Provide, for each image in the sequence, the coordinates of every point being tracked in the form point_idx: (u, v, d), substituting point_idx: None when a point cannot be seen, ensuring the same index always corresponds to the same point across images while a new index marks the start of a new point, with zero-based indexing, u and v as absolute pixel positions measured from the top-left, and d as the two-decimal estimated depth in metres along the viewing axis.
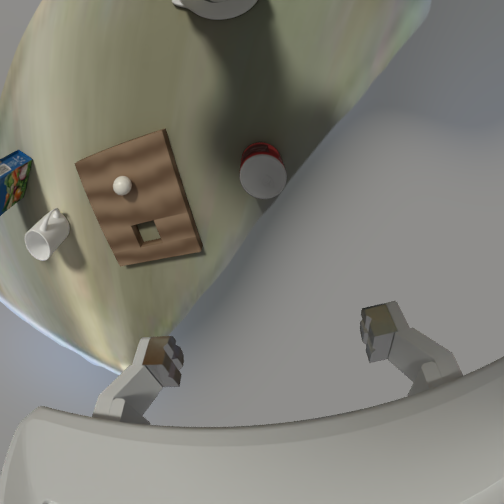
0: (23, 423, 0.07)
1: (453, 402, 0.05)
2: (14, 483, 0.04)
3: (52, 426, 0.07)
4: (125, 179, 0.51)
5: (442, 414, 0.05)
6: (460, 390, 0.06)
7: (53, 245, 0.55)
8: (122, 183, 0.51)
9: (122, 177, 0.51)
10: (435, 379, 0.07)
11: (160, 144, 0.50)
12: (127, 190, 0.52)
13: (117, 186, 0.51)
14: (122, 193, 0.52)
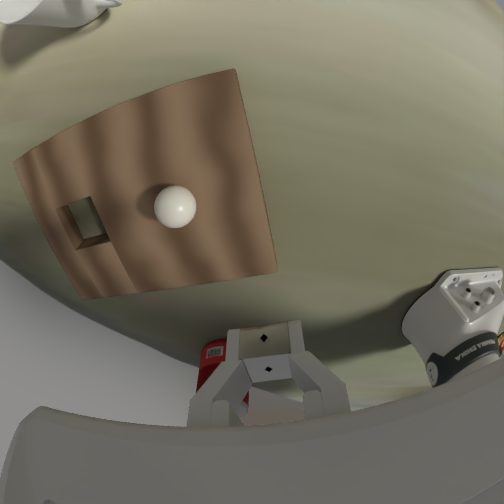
0: (23, 423, 0.07)
1: (453, 402, 0.05)
2: (14, 483, 0.04)
3: (52, 426, 0.07)
4: (190, 220, 0.26)
5: (442, 414, 0.05)
6: (460, 390, 0.06)
7: (25, 23, 0.11)
8: (182, 222, 0.25)
9: (194, 213, 0.26)
10: (314, 410, 0.07)
11: (253, 268, 0.32)
12: None
13: (175, 213, 0.24)
14: (159, 219, 0.25)
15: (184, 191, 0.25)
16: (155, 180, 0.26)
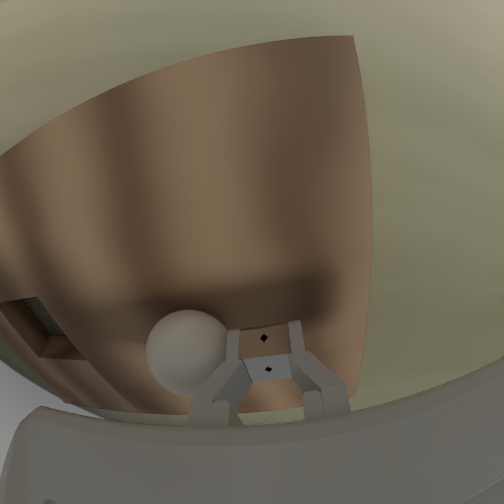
0: (23, 423, 0.07)
1: (453, 402, 0.05)
2: (14, 483, 0.04)
3: (52, 426, 0.07)
4: None
5: (442, 414, 0.05)
6: (460, 390, 0.06)
7: None
8: None
9: None
10: (314, 410, 0.07)
11: None
12: None
13: (187, 388, 0.10)
14: None
15: (208, 341, 0.11)
16: (150, 287, 0.12)
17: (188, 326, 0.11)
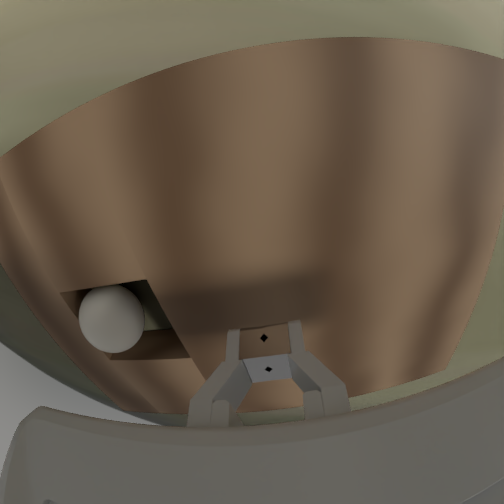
0: (23, 423, 0.07)
1: (453, 402, 0.05)
2: (14, 483, 0.04)
3: (52, 426, 0.07)
4: (116, 352, 0.14)
5: (442, 414, 0.05)
6: (460, 390, 0.06)
7: None
8: None
9: (115, 350, 0.14)
10: (315, 410, 0.07)
11: (422, 371, 0.18)
12: None
13: (84, 335, 0.14)
14: None
15: (96, 318, 0.13)
16: (331, 258, 0.12)
17: (95, 300, 0.13)
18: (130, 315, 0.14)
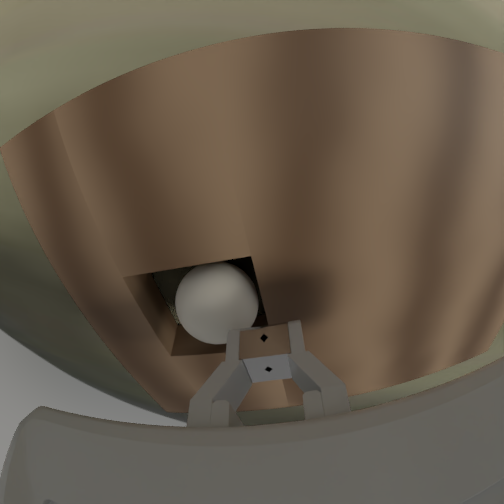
0: (23, 423, 0.07)
1: (453, 402, 0.05)
2: (14, 483, 0.04)
3: (52, 426, 0.07)
4: None
5: (442, 414, 0.05)
6: (460, 390, 0.06)
7: None
8: (226, 342, 0.13)
9: (252, 323, 0.13)
10: (314, 410, 0.07)
11: (470, 352, 0.17)
12: None
13: (213, 332, 0.12)
14: (184, 326, 0.13)
15: (235, 286, 0.12)
16: (433, 234, 0.11)
17: (218, 272, 0.12)
18: None
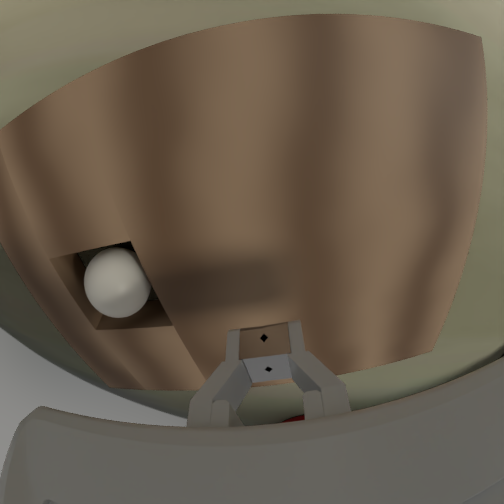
0: (23, 423, 0.07)
1: (453, 402, 0.05)
2: (14, 483, 0.04)
3: (52, 426, 0.07)
4: (136, 311, 0.15)
5: (442, 414, 0.05)
6: (460, 390, 0.06)
7: None
8: (117, 316, 0.14)
9: (140, 302, 0.14)
10: (314, 410, 0.07)
11: (407, 351, 0.18)
12: None
13: (102, 305, 0.13)
14: None
15: (120, 268, 0.13)
16: (306, 219, 0.12)
17: (110, 256, 0.14)
18: None
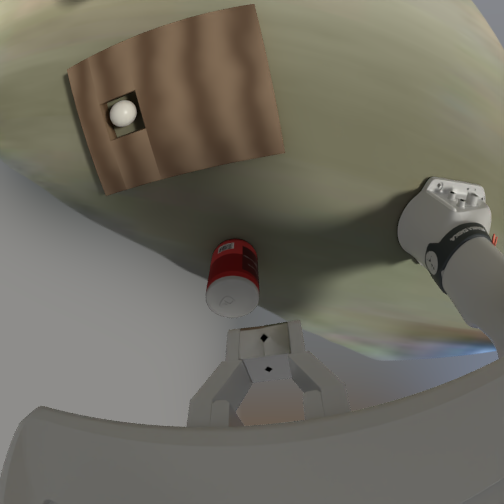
0: (23, 423, 0.07)
1: (453, 402, 0.05)
2: (14, 483, 0.04)
3: (52, 426, 0.07)
4: (126, 122, 0.34)
5: (442, 414, 0.05)
6: (460, 390, 0.06)
7: None
8: (118, 122, 0.33)
9: (128, 117, 0.33)
10: (315, 410, 0.07)
11: (265, 148, 0.37)
12: (116, 125, 0.35)
13: (114, 115, 0.32)
14: None
15: (124, 103, 0.32)
16: (192, 74, 0.31)
17: (122, 100, 0.33)
18: (134, 105, 0.34)
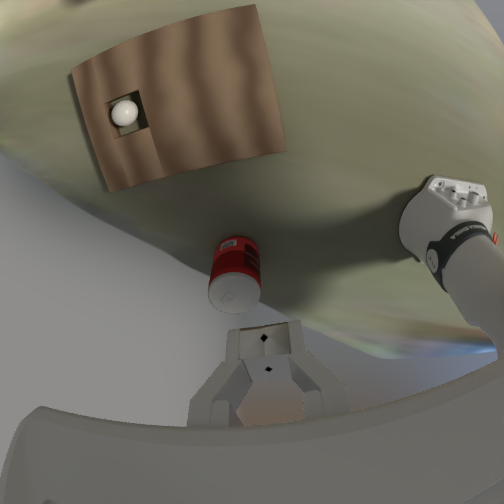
0: (23, 423, 0.07)
1: (453, 402, 0.05)
2: (14, 483, 0.04)
3: (52, 426, 0.07)
4: (126, 122, 0.34)
5: (442, 414, 0.05)
6: (460, 390, 0.06)
7: None
8: (118, 122, 0.34)
9: (128, 117, 0.34)
10: (315, 410, 0.07)
11: (266, 147, 0.38)
12: None
13: (114, 116, 0.33)
14: None
15: (123, 103, 0.33)
16: (194, 74, 0.32)
17: (123, 100, 0.33)
18: (135, 105, 0.34)
